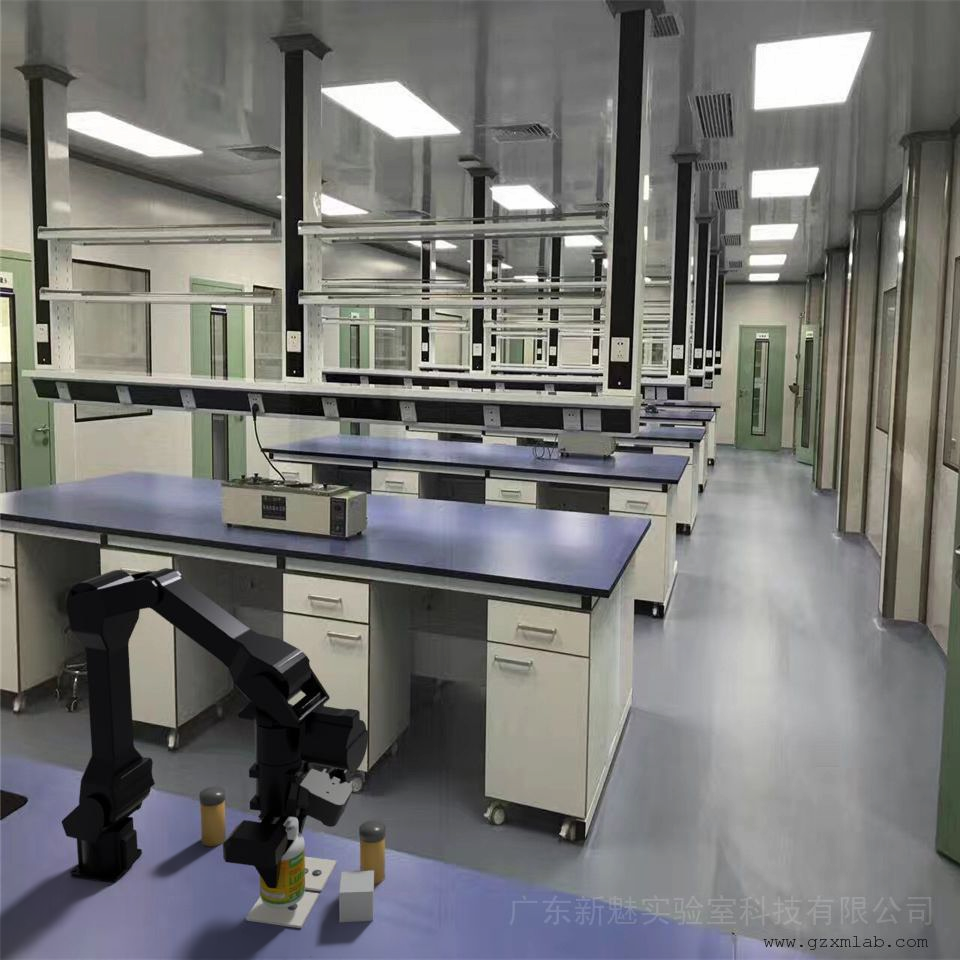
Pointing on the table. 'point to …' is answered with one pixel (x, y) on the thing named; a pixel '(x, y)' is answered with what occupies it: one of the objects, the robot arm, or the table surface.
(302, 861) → the supplement bottle
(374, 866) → the amber vial
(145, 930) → the table surface
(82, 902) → the table surface
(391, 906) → the table surface
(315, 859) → the pad three
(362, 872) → the grey block
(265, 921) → the pad two
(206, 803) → the amber vial
